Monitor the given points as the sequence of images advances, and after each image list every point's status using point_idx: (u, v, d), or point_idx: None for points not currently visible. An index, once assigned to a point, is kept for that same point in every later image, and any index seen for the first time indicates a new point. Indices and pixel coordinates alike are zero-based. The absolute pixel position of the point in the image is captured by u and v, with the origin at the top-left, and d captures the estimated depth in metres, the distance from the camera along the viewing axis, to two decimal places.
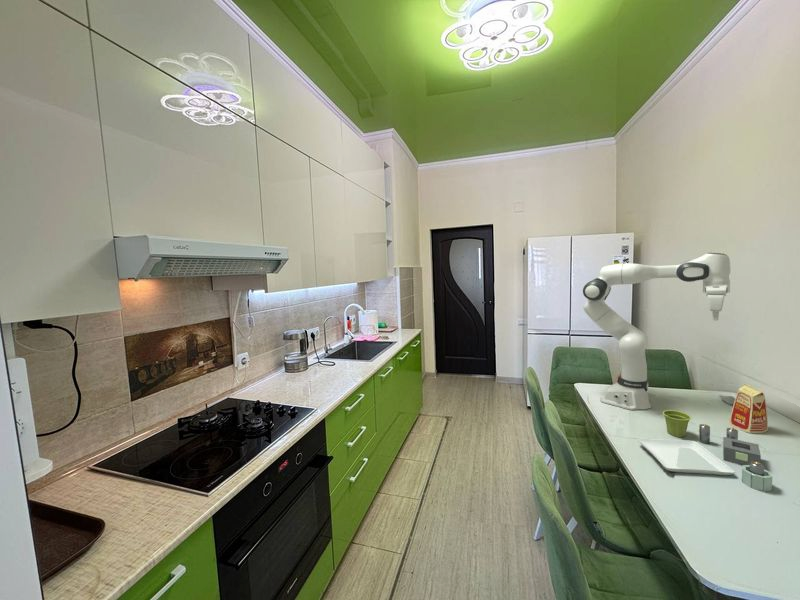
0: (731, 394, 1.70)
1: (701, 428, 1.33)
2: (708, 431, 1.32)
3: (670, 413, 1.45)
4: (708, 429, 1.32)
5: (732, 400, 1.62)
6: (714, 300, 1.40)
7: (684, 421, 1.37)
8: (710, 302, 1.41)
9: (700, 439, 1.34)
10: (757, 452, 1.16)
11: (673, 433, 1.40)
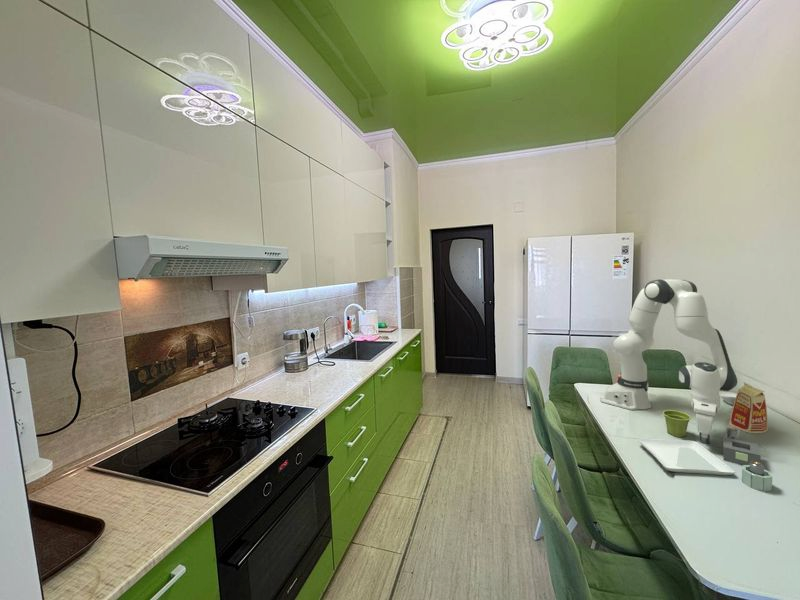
0: (732, 395, 1.69)
1: None
2: None
3: (670, 413, 1.45)
4: None
5: None
6: (702, 421, 1.26)
7: (684, 421, 1.37)
8: (698, 423, 1.27)
9: (700, 439, 1.34)
10: (757, 452, 1.16)
11: (673, 433, 1.40)
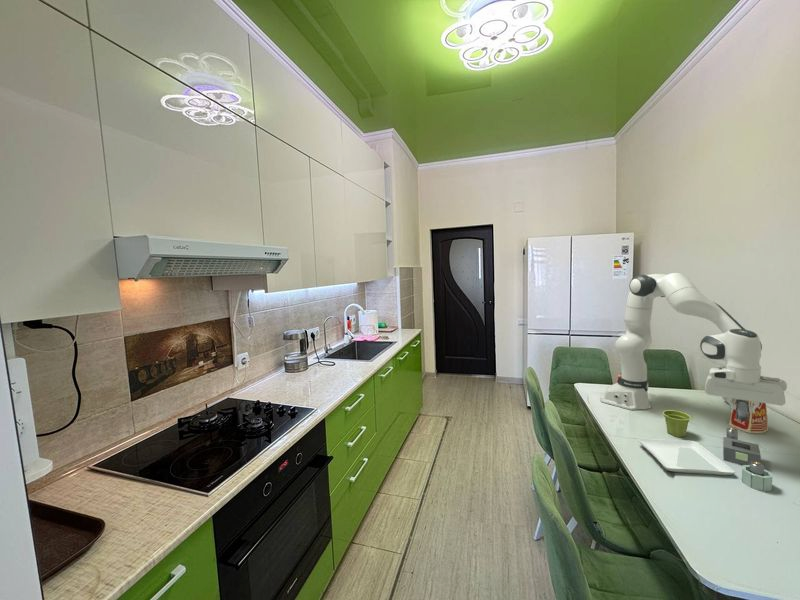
0: None
1: None
2: (738, 405, 1.18)
3: (670, 413, 1.45)
4: (738, 402, 1.18)
5: None
6: (706, 380, 1.25)
7: (684, 421, 1.37)
8: None
9: None
10: (757, 452, 1.16)
11: (673, 433, 1.40)
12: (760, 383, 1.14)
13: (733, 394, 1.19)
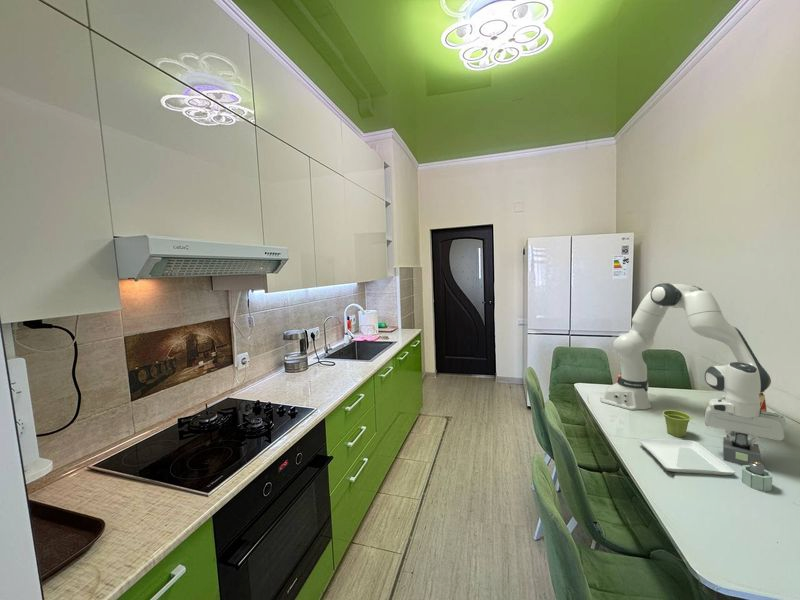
0: None
1: None
2: (737, 437, 1.20)
3: (670, 413, 1.45)
4: (737, 435, 1.20)
5: None
6: None
7: (684, 421, 1.37)
8: (705, 412, 1.27)
9: None
10: (757, 452, 1.16)
11: (673, 433, 1.40)
12: (759, 417, 1.15)
13: (732, 427, 1.20)
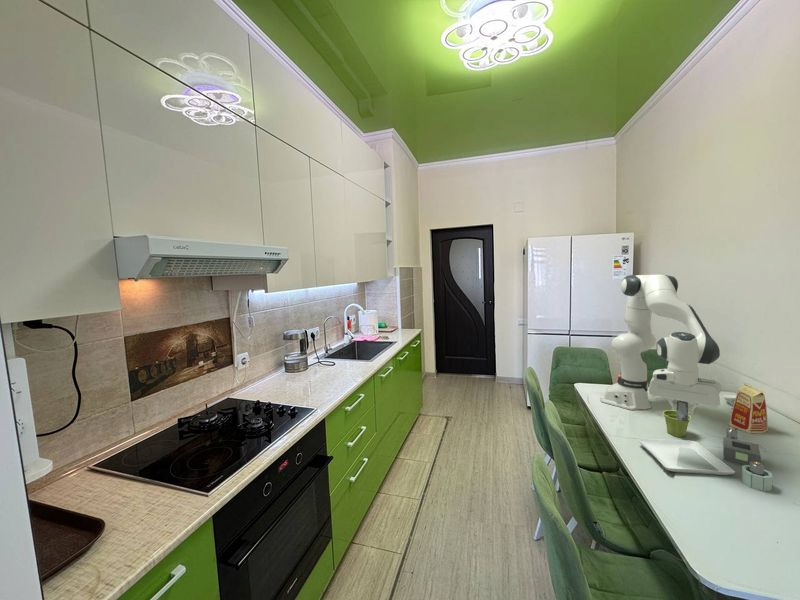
0: None
1: None
2: (678, 406, 1.22)
3: (670, 413, 1.45)
4: (678, 403, 1.22)
5: None
6: None
7: (684, 421, 1.37)
8: None
9: None
10: (757, 452, 1.16)
11: (673, 433, 1.40)
12: (697, 385, 1.17)
13: (673, 395, 1.22)
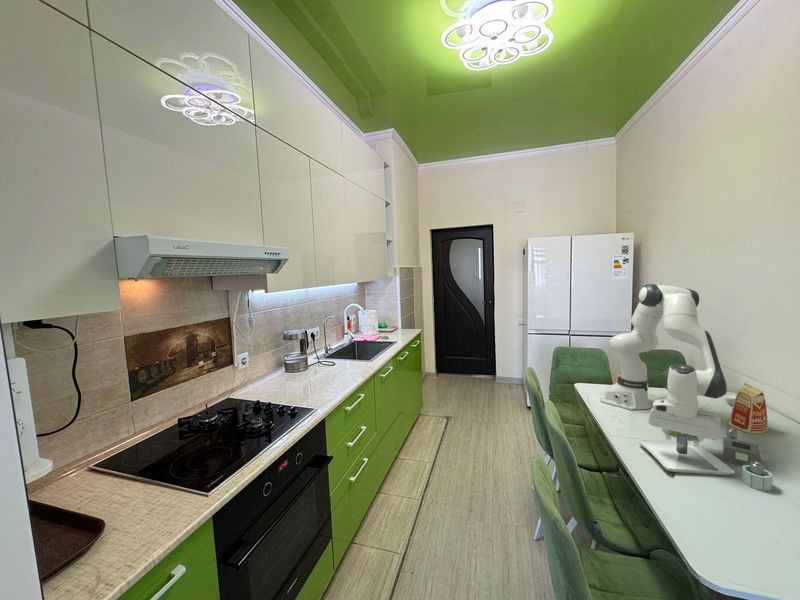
0: None
1: None
2: (678, 438, 1.23)
3: None
4: (678, 436, 1.23)
5: None
6: None
7: None
8: None
9: None
10: (757, 452, 1.16)
11: (673, 433, 1.40)
12: (697, 418, 1.18)
13: (673, 427, 1.23)
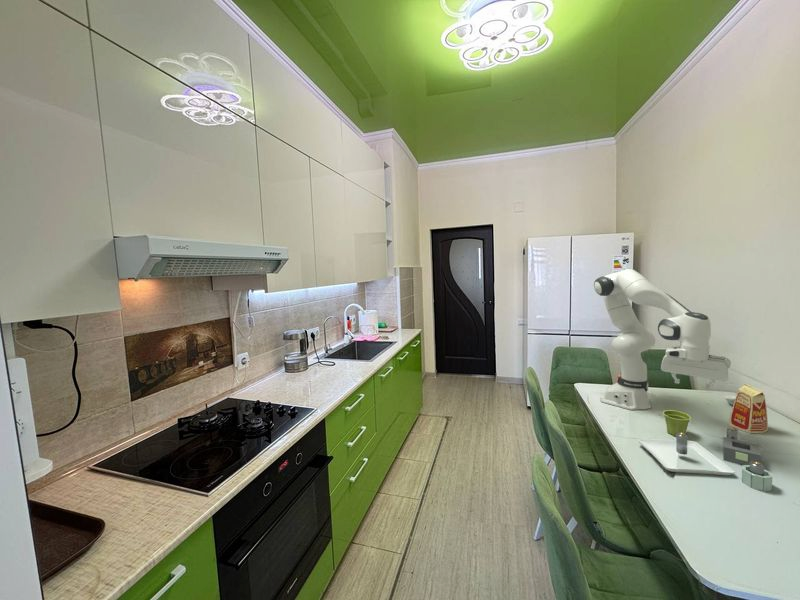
0: None
1: None
2: (677, 438, 1.23)
3: (670, 413, 1.45)
4: (677, 436, 1.23)
5: None
6: None
7: (684, 421, 1.37)
8: None
9: None
10: (757, 452, 1.16)
11: (673, 433, 1.40)
12: (708, 361, 1.26)
13: (684, 371, 1.31)
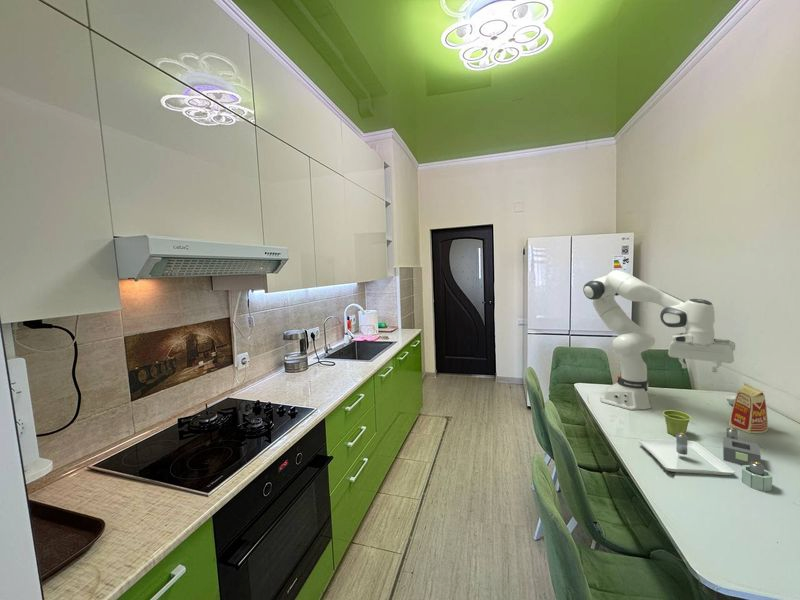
0: None
1: None
2: (678, 439, 1.23)
3: (670, 413, 1.45)
4: (677, 436, 1.23)
5: None
6: None
7: (684, 421, 1.37)
8: None
9: None
10: (757, 452, 1.16)
11: (673, 433, 1.40)
12: (713, 344, 1.31)
13: (691, 355, 1.36)
